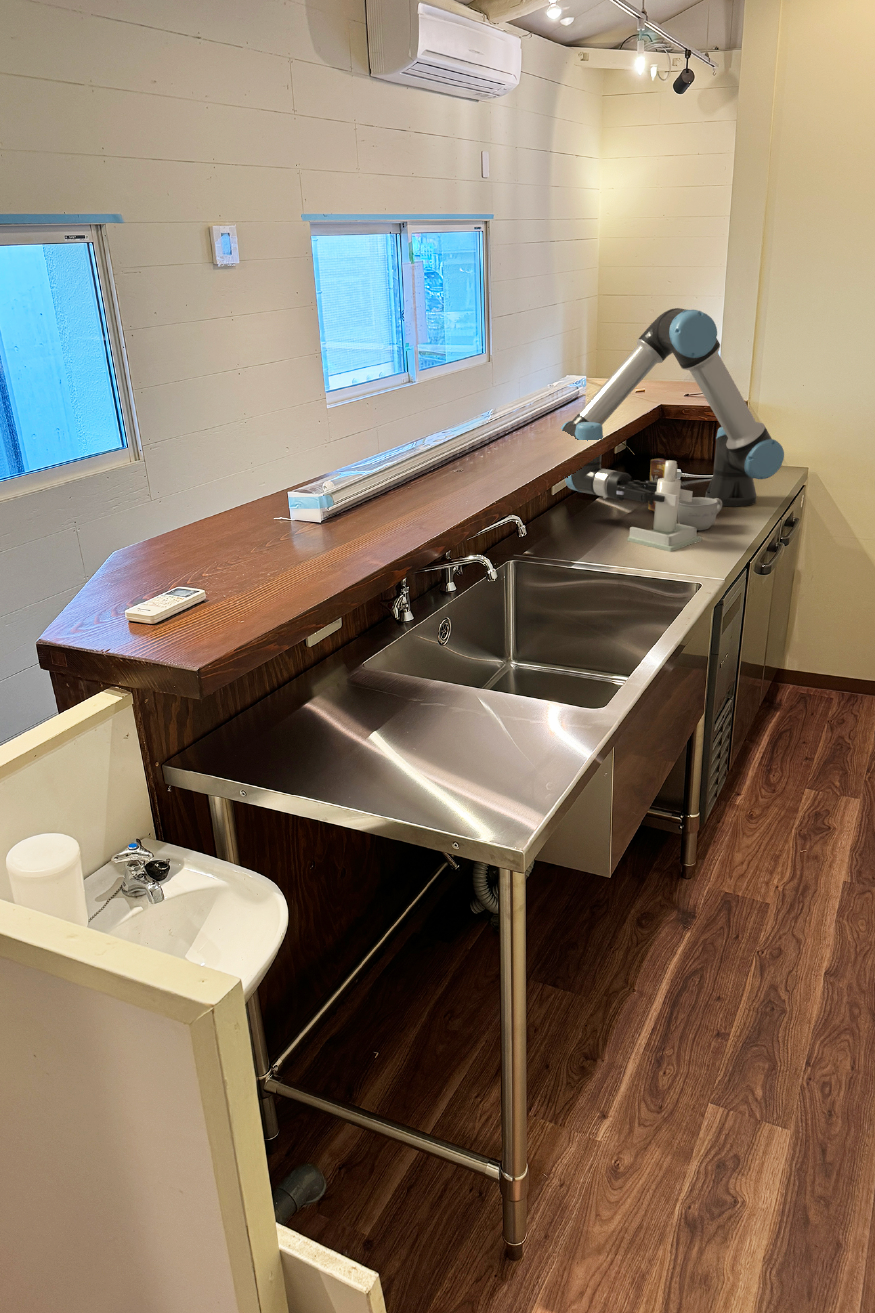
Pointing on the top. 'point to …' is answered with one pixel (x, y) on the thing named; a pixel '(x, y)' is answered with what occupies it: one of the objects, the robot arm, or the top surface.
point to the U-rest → (665, 537)
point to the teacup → (699, 512)
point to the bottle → (665, 513)
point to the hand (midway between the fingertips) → (683, 498)
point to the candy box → (657, 474)
